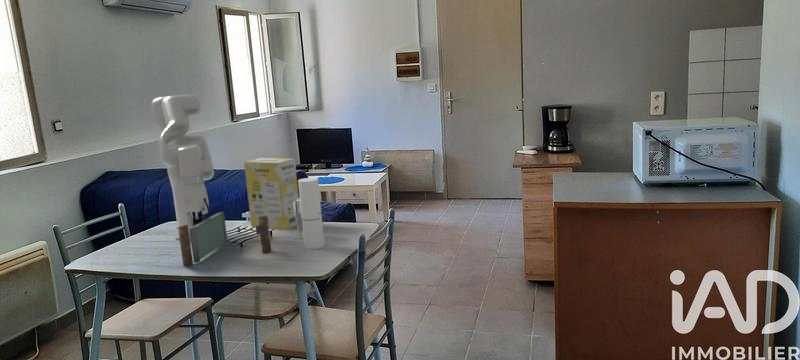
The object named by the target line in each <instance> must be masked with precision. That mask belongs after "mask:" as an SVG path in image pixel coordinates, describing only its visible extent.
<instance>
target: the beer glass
mask: <svg viewBox="0 0 800 360" xmlns="http://www.w3.org/2000/svg"><path fill="white" fill-rule="evenodd" d="M293 211H294V217H295V220H296V224H297V225H296V227H297V231H296V232H297V235H296V237H297V239H301V240H304V235H303V225H302V215H301V204H300V197H299V198H296V199H294V200H293Z"/></svg>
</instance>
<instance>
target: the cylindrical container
mask: <svg viewBox="0 0 800 360" xmlns="http://www.w3.org/2000/svg"><path fill="white" fill-rule="evenodd" d="M319 183H320V182H319V178H317V177H305V178H299V179H298V180H297V185H298V195H299V198H300V204H301V215H302V225H303V235H304V239H303V243H304V248H305V249H306V250H318V249H321V248H324V246H325V238H324V227H323V217H322V207H321V206H322V205H321V196H320V185H319Z"/></svg>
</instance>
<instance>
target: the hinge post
mask: <svg viewBox="0 0 800 360" xmlns="http://www.w3.org/2000/svg"><path fill="white" fill-rule="evenodd" d="M177 226H178V225H177ZM177 231H178V232H177V233H179V239H180V240H179V245H180V252H181V253H180V254H181V258H182V266H183V267H190V266H191V267H192V266H193V265H194V259H193V252H192V245H191V239H190V238H189V231H188V225H180V226H178V229H177Z"/></svg>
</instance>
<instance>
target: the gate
mask: <svg viewBox="0 0 800 360" xmlns="http://www.w3.org/2000/svg"><path fill="white" fill-rule="evenodd" d="M226 226H227V225H226V217H225V212H224V211H218V212H217V213H215V214H213V215H211V216H209V217H207V218H206V219H204V220H203V221H202V222H200V223H198V224H196V225H195V226H193V227H190V228H189V229H190V237H191V239H190V245H191V252H192V259H193V264H194V263H195V264H196V263H197V264H198V263H200V262H201V260H202V259H203V258H205V257H206V256H207V255H209V254H211V253H212V252H214V251H215V250H216V249H218V248H219V247H221V246H222V245H224V244H225V243H228V234H227V227H226Z"/></svg>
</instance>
